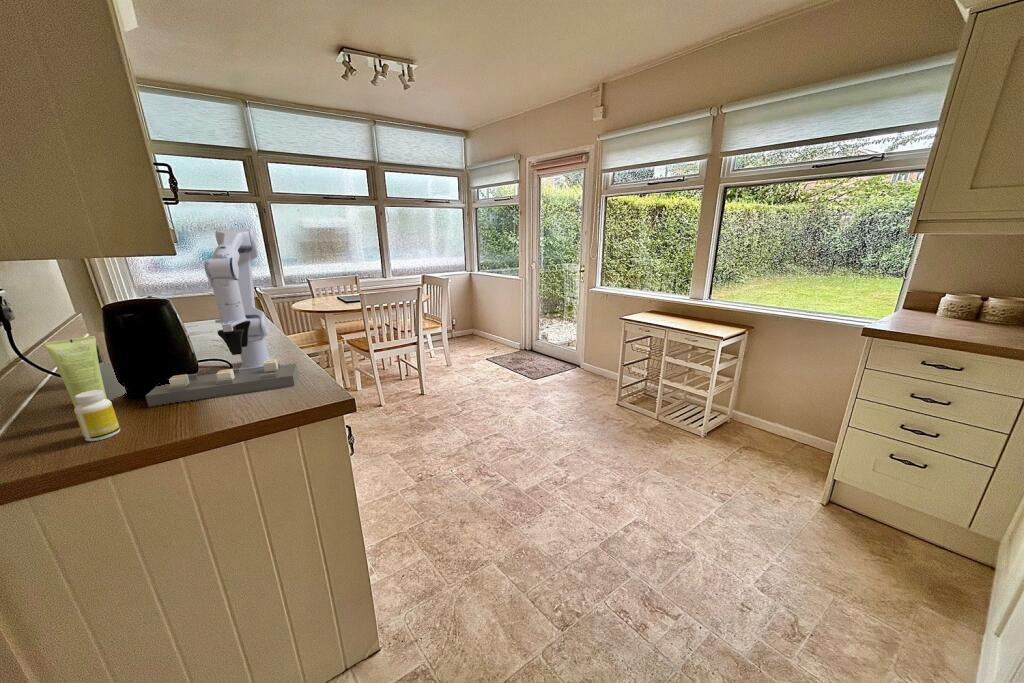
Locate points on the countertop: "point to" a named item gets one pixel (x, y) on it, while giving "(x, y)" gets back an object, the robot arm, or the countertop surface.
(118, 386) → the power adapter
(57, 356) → the tube
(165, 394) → the power strip
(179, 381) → the switch
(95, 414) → the supplement bottle
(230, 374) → the switch mid
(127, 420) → the countertop surface
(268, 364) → the switch
